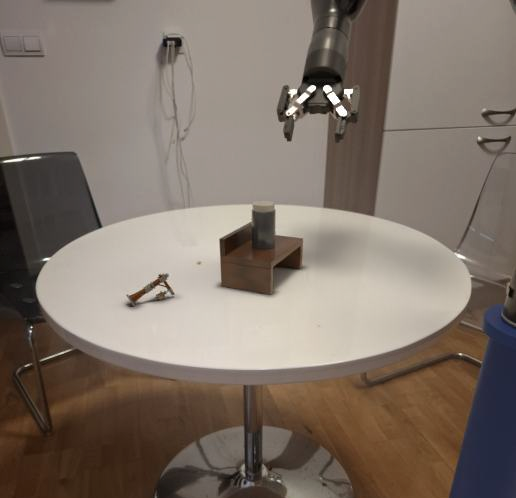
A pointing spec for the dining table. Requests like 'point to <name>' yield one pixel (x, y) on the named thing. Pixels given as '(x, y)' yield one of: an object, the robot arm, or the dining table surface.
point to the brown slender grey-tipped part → (149, 287)
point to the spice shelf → (255, 260)
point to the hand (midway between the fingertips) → (312, 139)
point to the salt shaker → (263, 225)
